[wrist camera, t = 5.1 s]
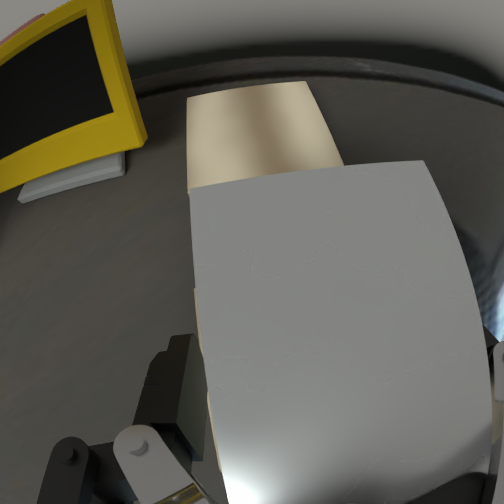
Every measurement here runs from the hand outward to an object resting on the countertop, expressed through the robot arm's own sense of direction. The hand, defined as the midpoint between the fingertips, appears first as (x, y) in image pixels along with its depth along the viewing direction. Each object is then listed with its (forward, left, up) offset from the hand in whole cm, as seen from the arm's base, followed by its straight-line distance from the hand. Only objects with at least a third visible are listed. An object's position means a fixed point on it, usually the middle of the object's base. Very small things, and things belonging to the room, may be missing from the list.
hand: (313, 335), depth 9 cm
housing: (0, -1, -5) cm, 5 cm away
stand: (0, +15, -8) cm, 17 cm away
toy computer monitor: (-18, +19, -8) cm, 27 cm away
